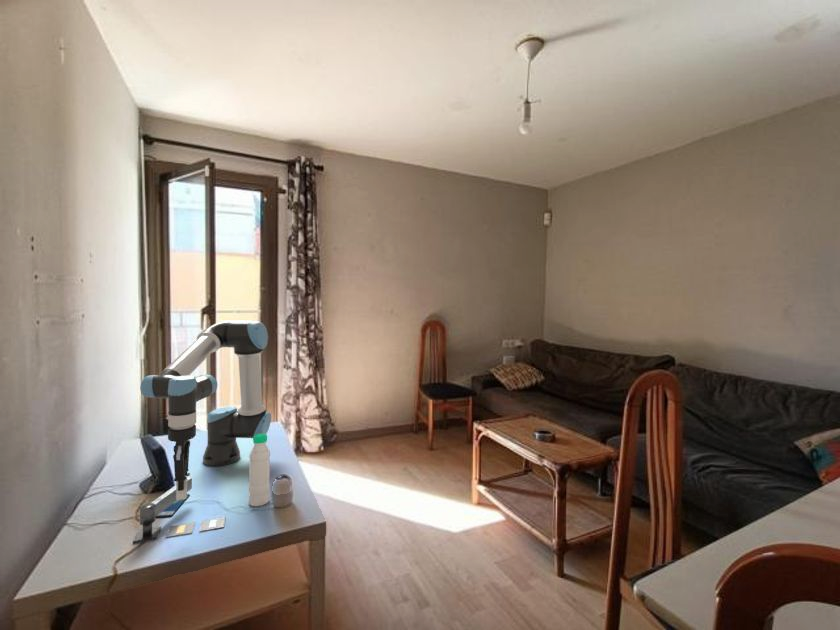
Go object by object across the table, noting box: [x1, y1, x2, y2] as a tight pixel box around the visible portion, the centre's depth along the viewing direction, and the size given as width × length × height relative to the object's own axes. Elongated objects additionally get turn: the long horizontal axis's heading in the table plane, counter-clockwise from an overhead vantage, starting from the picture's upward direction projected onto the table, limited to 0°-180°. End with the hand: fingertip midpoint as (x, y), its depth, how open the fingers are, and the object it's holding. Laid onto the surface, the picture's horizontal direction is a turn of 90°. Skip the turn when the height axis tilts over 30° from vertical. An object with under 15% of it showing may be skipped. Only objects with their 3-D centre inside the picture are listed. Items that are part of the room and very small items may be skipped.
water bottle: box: [248, 434, 271, 507], centre depth 140 cm, size 7×7×25 cm
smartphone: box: [155, 493, 191, 519], centre depth 136 cm, size 7×1×15 cm
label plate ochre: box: [165, 521, 196, 539], centre depth 123 cm, size 6×7×1 cm
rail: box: [139, 476, 193, 526], centre depth 128 cm, size 4×22×5 cm, turn 178°
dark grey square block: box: [132, 523, 162, 545], centre depth 119 cm, size 6×6×4 cm
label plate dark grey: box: [198, 516, 226, 533], centre depth 126 cm, size 6×7×1 cm
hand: (181, 498), depth 122 cm, fingers closed
